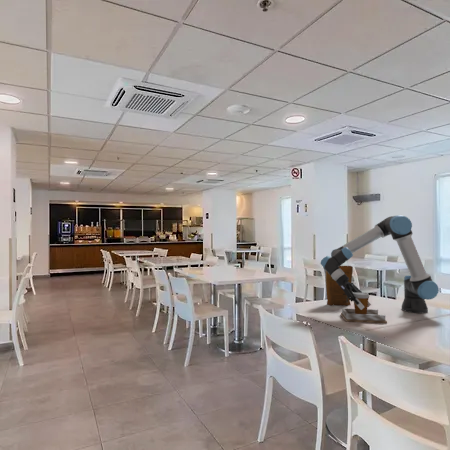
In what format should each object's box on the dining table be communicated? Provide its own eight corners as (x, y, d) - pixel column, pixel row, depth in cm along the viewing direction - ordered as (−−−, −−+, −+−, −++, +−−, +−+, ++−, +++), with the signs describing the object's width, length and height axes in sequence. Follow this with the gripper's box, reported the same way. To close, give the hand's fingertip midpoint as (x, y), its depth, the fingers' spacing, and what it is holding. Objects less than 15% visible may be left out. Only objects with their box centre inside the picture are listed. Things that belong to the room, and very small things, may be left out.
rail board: (378, 316, 210) (378, 309, 210) (386, 323, 193) (386, 315, 193) (340, 314, 213) (340, 307, 214) (346, 321, 197) (346, 314, 197)
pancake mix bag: (354, 306, 237) (354, 266, 238) (325, 305, 240) (325, 265, 241) (351, 304, 244) (351, 265, 245) (324, 303, 247) (324, 264, 247)
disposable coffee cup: (371, 316, 198) (370, 295, 198) (353, 315, 200) (353, 294, 200) (367, 312, 207) (367, 292, 208) (351, 311, 209) (351, 291, 210)
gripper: (343, 279, 223) (368, 308, 211) (328, 283, 207) (354, 314, 195) (351, 272, 219) (377, 300, 208) (336, 275, 203) (363, 306, 192)
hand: (366, 307), depth 202 cm, fingers closed on disposable coffee cup, 9 cm apart
